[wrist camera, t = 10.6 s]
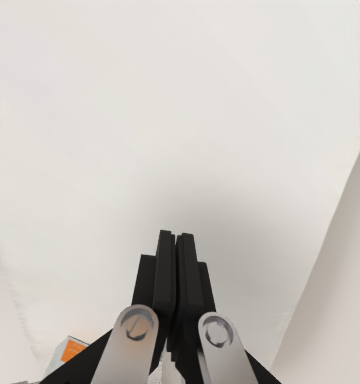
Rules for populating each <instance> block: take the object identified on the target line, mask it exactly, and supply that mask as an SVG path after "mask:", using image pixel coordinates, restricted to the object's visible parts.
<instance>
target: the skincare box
mask: <svg viewBox="0 0 360 384" xmlns="http://www.w3.org/2000/svg"><path fill="white" fill-rule="evenodd" d="M88 346H89V345H88V344H85V343H83V342H81V341H79V340H76V339H74V338H72V337H70V336H68V337H67V338H66V339H65V340H64V341H63V342H62V343H61V344H60V345H59V346H58V347H57V348H56V351H55V353H54V355H53V357H52V359H51V361H50V363H49V365H48V368H47V370H46V372H45V374H44V376H43V378H42V380H43V379H44V378H45V377H46V376H48V375H49V374H50V373H52V372H53V371H55V370H56V369H57V368H59V367H60V366H62V365H63V364H64V363H66V362H67V361H68V360H70V359H71V358H73V357H74V356H75V355H77V354H78V353H80V352H81V351H82V350H84V349H85V348H86V347H88Z"/></svg>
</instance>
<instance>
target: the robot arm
mask: <svg viewBox="0 0 360 384" xmlns="http://www.w3.org/2000/svg"><path fill="white" fill-rule="evenodd" d="M159 361H161V362H162V382H161V384H281V383H280V382H279V381H278V380H277V379H276V378H275V377H274V376H273V375H272V374H271V373H270V372H269V371H267V370H266V369H265V368H264V367H263V366H262V365H261V364H260V363H259V362H258V361H257V360H256V359H255V358H254V357H252V356H251V355H250V354H249V353H248V352H247V351H246V350H245V349H244V348H243V345H242V343H241V340H240V338H239V335H238V333H237V330H236V328H235V327H234V325H233V323H232V322H231V321H230V320H229V319H228V318H227V317H225V316H224V315H223V314H220V313H218V312H216V308H215V303H214V299H213V294H212V289H211V284H210V279H209V274H208V269H207V265H206V263H205V262H198V261H197V256H196V249H195V243H194V236H193V234H187V233H182V235H178V236H177V240H176V245H175V235H174V234H171V231H166V230H160V235H159V240H158V246H157V251H156V256H151V255H143V254H141V258H140V263H139V269H138V274H137V279H136V284H135V289H134V294H133V299H132V304H131V306H129V307H127V308H125V309H124V310H123V311H122V312H121V313H120V315H119V317H118V318H117V321H116V323H115V325H114V328H113V329H111V330H110V331H109V332H107V333H106V334H104V335H103V336H102V337H100V338H99V339H97V340H96V341H95V342H93V343H92V344H91V345H89V346H88V347H86V348H85V349H84V350H82V351H81V352H80V353H78V354H77V355H75V356H74V357H73V358H71V359H70V360H68V361H67V362H66V363H64V364H63V365H62V366H60V367H59V368H57V369H56V370H55V371H53V372H52V373H50V374H49V375H48V376H46V377H45V378H44V379H43V380H42V381H39V382H34V383H29V384H147V380H148V376H149V375H150V374H151V373H152V372H153V371H154V370H155V369H156V368H157V367H158V365H159ZM13 384H28V382H27V381H24V382H18V383H13Z"/></svg>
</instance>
